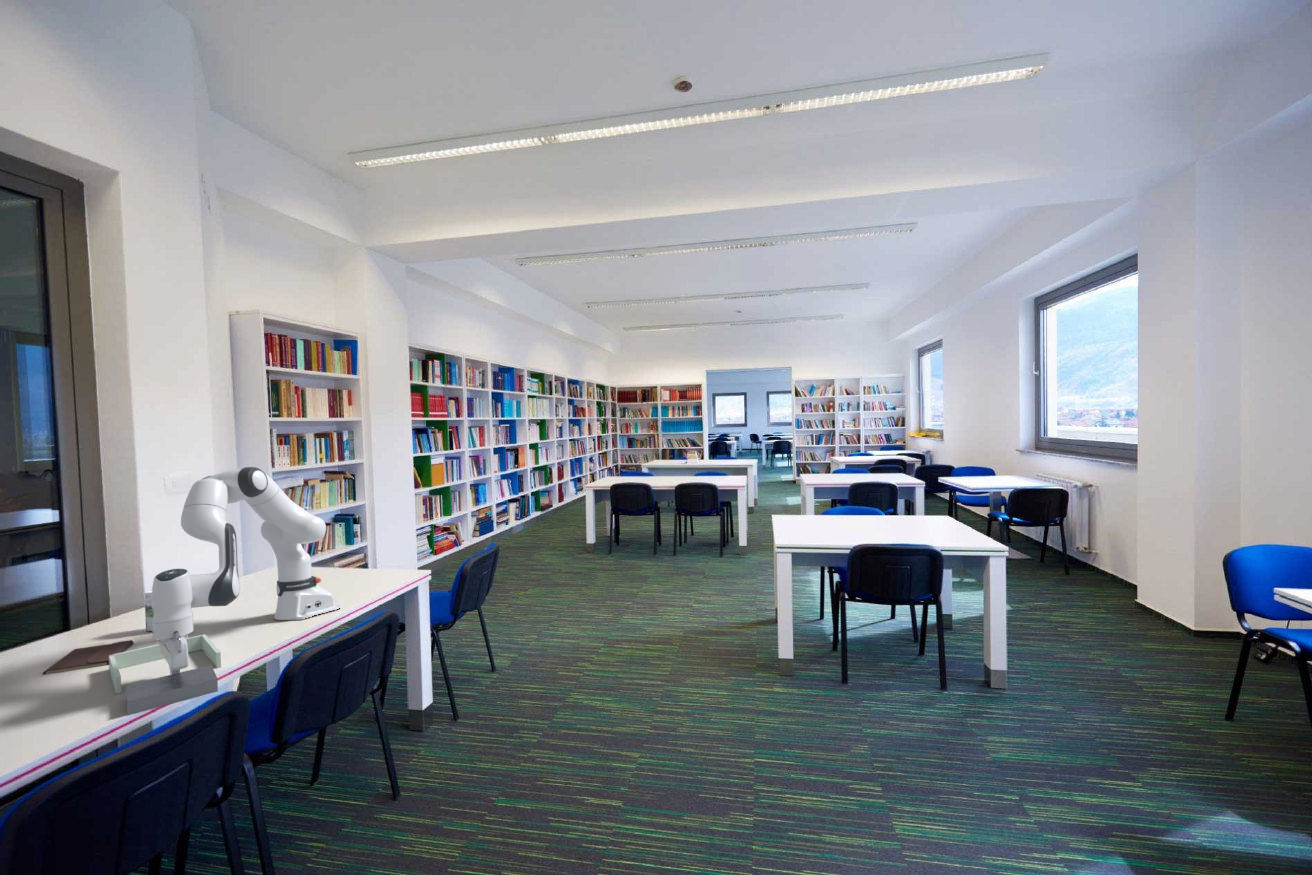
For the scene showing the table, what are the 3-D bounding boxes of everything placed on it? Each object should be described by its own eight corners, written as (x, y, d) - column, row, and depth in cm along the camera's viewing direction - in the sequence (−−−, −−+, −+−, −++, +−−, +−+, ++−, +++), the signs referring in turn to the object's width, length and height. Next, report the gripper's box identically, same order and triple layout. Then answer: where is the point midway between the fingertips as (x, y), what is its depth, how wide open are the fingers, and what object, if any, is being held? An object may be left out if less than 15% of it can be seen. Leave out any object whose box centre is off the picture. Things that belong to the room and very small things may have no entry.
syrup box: (174, 626, 210) (173, 587, 210) (159, 632, 204) (157, 592, 204) (160, 626, 210) (159, 587, 210) (144, 631, 204) (143, 591, 204)
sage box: (205, 647, 187) (205, 634, 187) (220, 666, 171) (220, 651, 171) (109, 670, 171) (108, 655, 170) (116, 693, 154) (115, 677, 154)
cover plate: (211, 678, 164) (211, 664, 164) (217, 692, 155) (217, 678, 155) (126, 700, 151) (126, 685, 151) (127, 716, 142) (127, 701, 142)
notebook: (42, 676, 168) (42, 669, 168) (73, 653, 186) (73, 647, 186) (109, 666, 175) (109, 659, 175) (133, 645, 193) (133, 639, 193)
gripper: (194, 633, 155) (196, 683, 156) (181, 617, 169) (183, 663, 169) (164, 639, 151) (166, 691, 151) (153, 623, 165) (155, 670, 165)
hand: (175, 676), depth 160 cm, fingers closed
